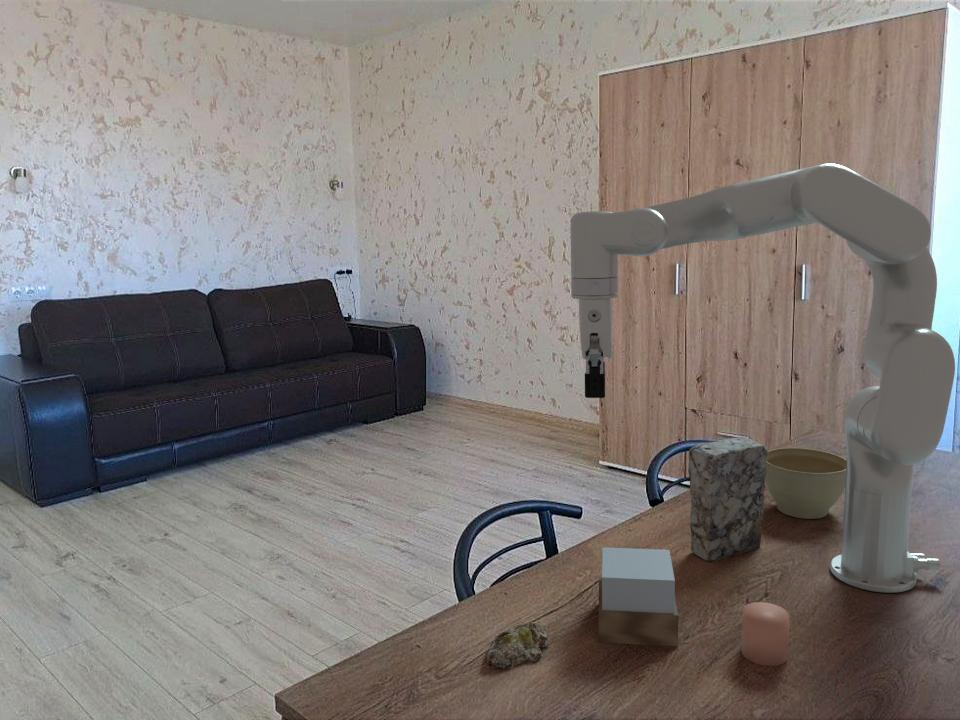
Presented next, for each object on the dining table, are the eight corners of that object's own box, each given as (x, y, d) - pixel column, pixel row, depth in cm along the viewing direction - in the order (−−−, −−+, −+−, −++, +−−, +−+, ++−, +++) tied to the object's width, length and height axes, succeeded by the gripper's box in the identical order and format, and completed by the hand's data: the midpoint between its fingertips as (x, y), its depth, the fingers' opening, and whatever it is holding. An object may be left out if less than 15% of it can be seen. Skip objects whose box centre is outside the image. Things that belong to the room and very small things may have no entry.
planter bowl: (812, 533, 142) (815, 478, 140) (743, 507, 155) (744, 456, 153) (864, 514, 150) (868, 462, 148) (794, 491, 163) (796, 442, 161)
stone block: (714, 567, 130) (717, 455, 126) (684, 552, 136) (686, 445, 132) (767, 548, 136) (770, 441, 133) (736, 535, 142) (739, 432, 139)
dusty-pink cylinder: (782, 642, 106) (783, 603, 105) (792, 667, 101) (794, 625, 99) (737, 640, 107) (739, 601, 106) (745, 664, 102) (746, 623, 100)
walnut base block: (670, 608, 117) (671, 578, 116) (677, 648, 106) (678, 615, 105) (599, 605, 119) (598, 575, 118) (598, 643, 108) (598, 611, 107)
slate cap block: (669, 580, 116) (669, 549, 115) (674, 613, 106) (674, 580, 105) (602, 577, 117) (602, 547, 116) (602, 610, 108) (601, 577, 107)
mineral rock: (515, 612, 113) (555, 615, 107) (522, 640, 113) (563, 645, 107) (465, 645, 105) (506, 651, 100) (473, 675, 105) (514, 682, 100)
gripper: (619, 293, 114) (619, 403, 117) (616, 283, 131) (617, 379, 134) (569, 294, 115) (570, 403, 118) (573, 284, 132) (574, 379, 135)
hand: (595, 390), depth 126 cm, fingers open, 9 cm apart
